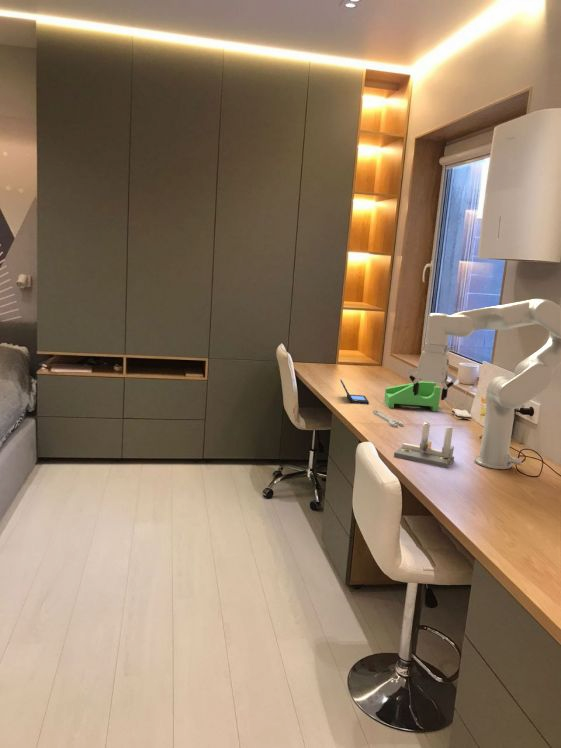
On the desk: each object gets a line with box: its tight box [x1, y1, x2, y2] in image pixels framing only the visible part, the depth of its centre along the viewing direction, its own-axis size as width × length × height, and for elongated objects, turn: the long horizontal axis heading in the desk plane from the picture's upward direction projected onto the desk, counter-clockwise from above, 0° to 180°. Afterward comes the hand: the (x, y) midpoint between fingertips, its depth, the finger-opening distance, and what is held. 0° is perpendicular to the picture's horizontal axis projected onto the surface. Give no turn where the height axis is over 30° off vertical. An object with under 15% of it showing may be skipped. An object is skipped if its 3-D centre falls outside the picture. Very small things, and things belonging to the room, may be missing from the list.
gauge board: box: [393, 425, 455, 469], centre depth 222 cm, size 19×10×13 cm, turn 62°
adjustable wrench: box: [372, 409, 404, 428], centre depth 277 cm, size 25×6×2 cm, turn 12°
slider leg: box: [419, 421, 432, 453], centre depth 224 cm, size 3×6×11 cm, turn 152°
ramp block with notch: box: [383, 380, 442, 412], centre depth 306 cm, size 24×13×12 cm, turn 89°
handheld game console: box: [340, 379, 369, 405], centre depth 312 cm, size 16×13×9 cm
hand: (429, 397), depth 220 cm, fingers open, 9 cm apart
